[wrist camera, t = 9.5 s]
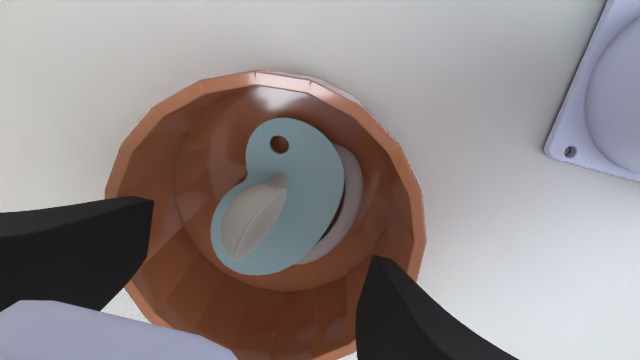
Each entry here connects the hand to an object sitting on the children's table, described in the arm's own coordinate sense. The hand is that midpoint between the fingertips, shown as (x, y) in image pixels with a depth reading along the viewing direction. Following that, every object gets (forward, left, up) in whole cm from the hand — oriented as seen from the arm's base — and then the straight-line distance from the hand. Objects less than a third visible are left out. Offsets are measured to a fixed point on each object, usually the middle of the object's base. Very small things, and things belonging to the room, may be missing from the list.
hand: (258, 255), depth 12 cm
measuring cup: (-2, +1, -7) cm, 7 cm away
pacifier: (-1, 0, -7) cm, 7 cm away
